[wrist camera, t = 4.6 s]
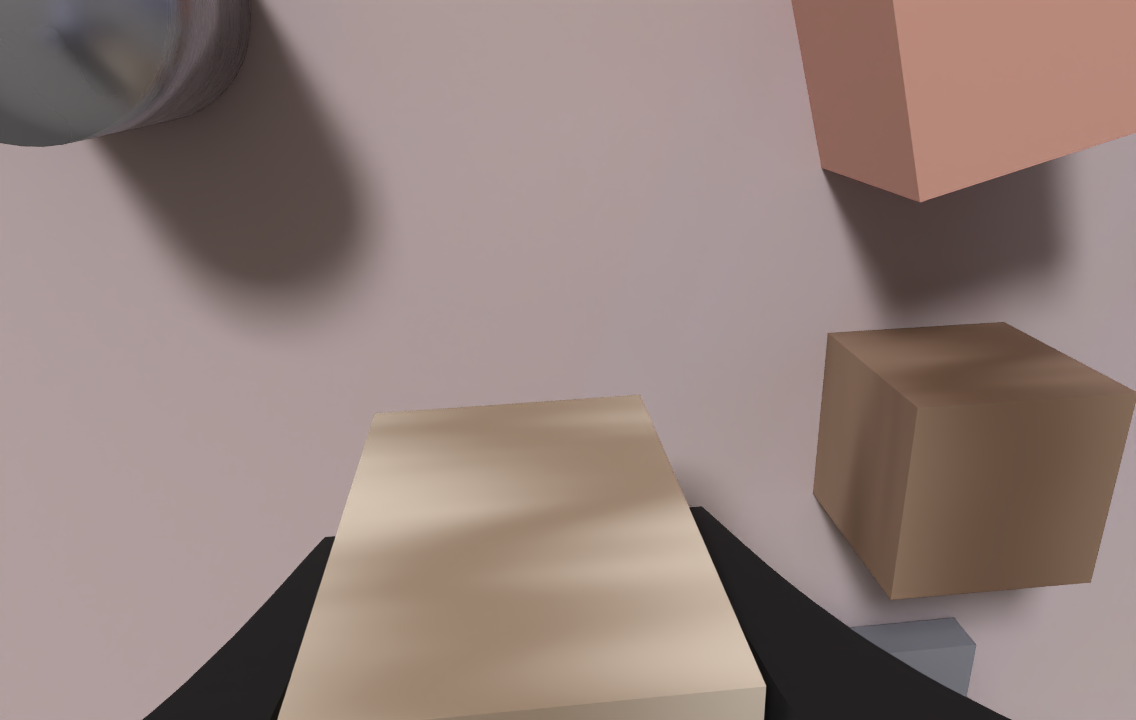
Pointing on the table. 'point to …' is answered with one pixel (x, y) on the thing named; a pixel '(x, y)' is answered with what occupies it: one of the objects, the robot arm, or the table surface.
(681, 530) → the pale birch block
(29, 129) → the dark metal cylinder
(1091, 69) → the terracotta block
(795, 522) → the table surface
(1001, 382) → the walnut block
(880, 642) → the charcoal mat
